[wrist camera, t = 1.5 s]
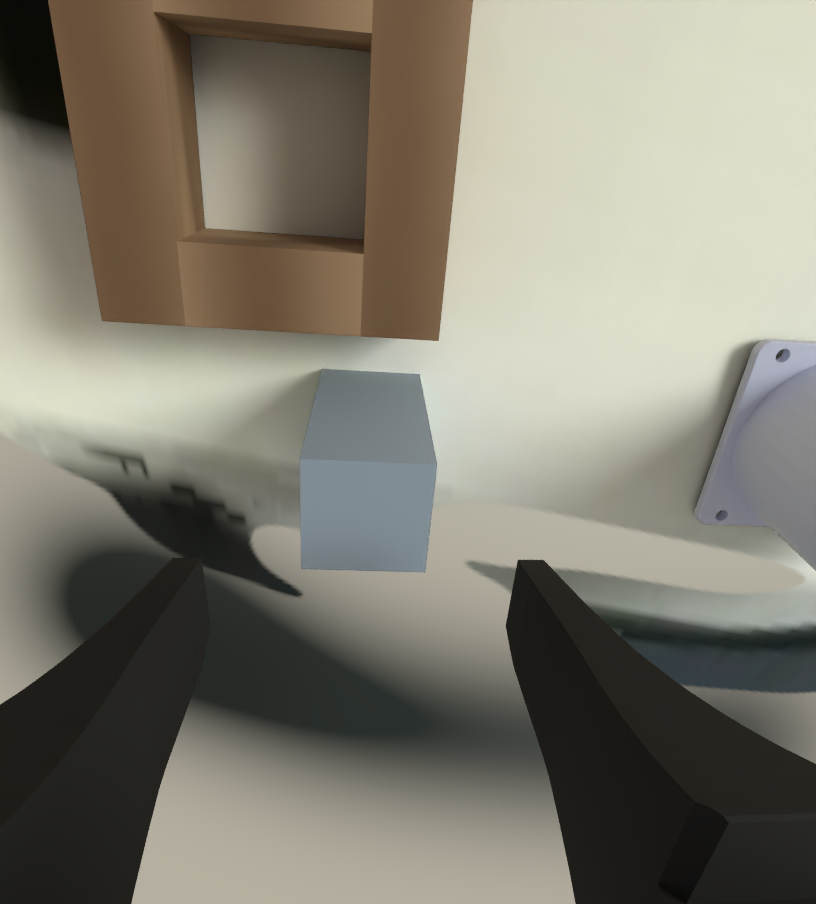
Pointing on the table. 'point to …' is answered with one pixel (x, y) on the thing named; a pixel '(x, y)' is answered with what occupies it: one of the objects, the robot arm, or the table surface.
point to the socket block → (179, 180)
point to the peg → (367, 474)
